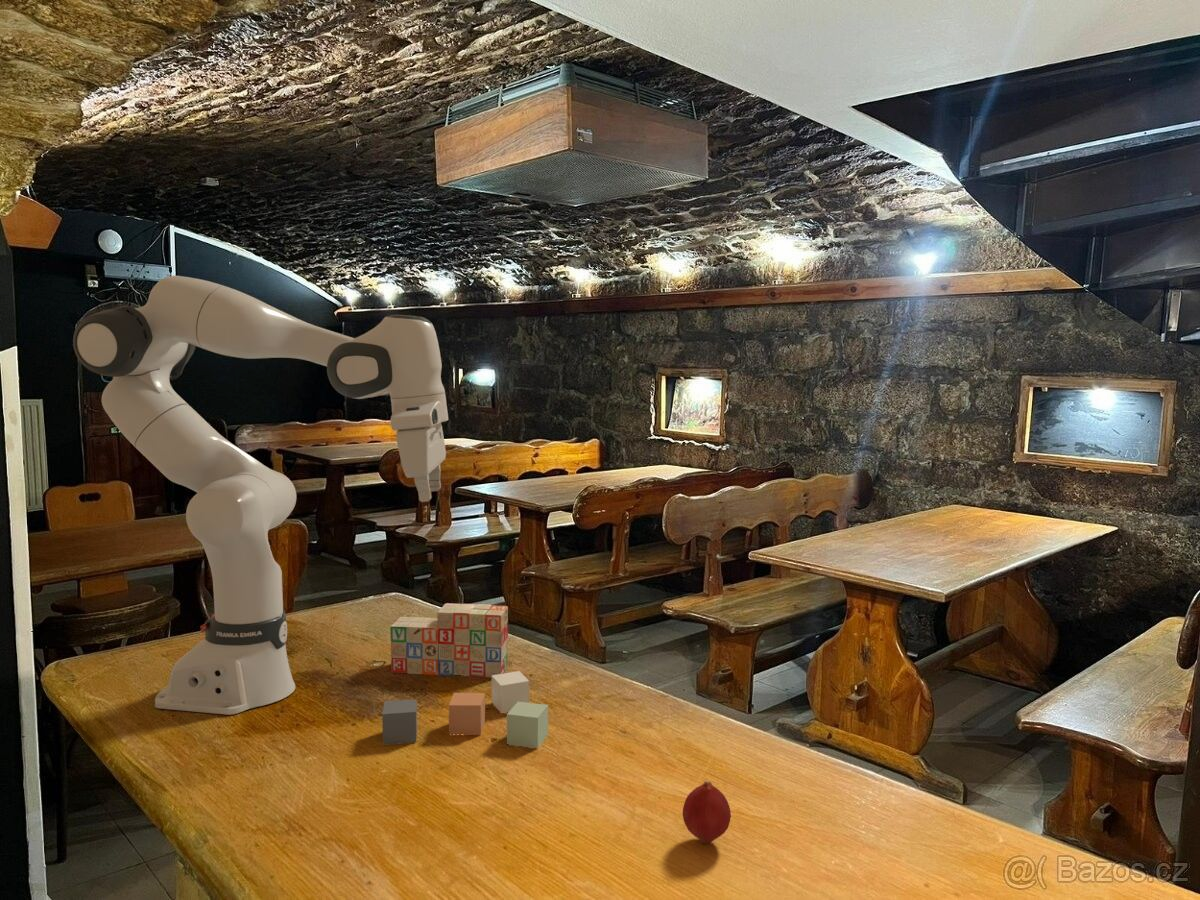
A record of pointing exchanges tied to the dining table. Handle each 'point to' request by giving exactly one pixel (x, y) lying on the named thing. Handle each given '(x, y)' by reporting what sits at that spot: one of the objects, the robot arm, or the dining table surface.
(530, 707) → the sage green cube
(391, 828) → the dining table surface
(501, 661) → the stack of blocks
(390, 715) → the charcoal cube
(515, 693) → the off-white cube
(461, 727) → the terracotta cube
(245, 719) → the dining table surface
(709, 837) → the onion
